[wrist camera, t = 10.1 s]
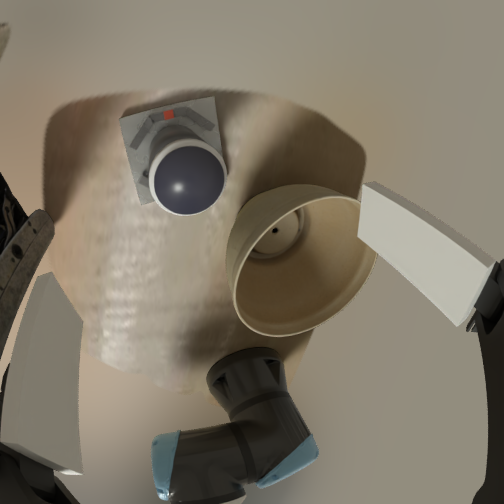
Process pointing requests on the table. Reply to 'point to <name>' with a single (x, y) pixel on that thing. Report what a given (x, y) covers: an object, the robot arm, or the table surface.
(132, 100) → the table surface
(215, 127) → the mount
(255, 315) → the planter bowl
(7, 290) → the vintage camera
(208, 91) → the table surface
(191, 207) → the lens
